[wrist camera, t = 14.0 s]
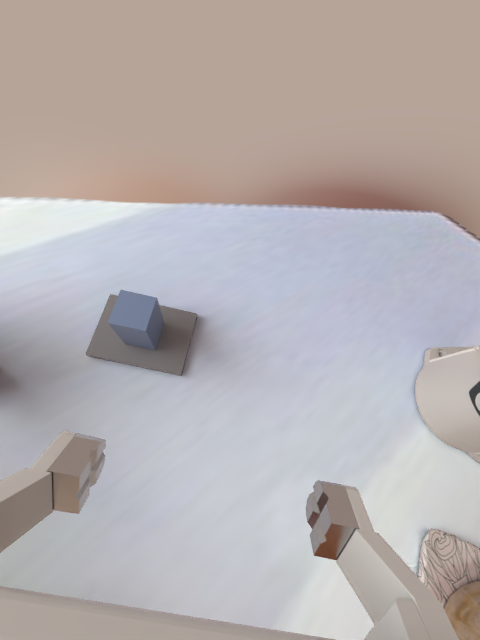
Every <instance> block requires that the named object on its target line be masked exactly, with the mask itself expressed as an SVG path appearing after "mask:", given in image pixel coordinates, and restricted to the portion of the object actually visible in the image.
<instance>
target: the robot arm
mask: <svg viewBox="0 0 480 640" xmlns="http://www.w3.org/2000/svg"><path fill="white" fill-rule="evenodd" d="M439 355H440V356H439ZM415 397H416V402H417V406H418V409H419V412H420V414H421V416H422V418H423V420H424V421H425V423H426V424H427V426H428V427H429V429H430V430H431V431H432V432H433V433H434V434H435V435H436V436H437V437H438V438H439V439H441V440H442V441H443V442H445V443H446V444H448V445H450V446H452V447H454V448H457V449H460V450H462V451H464V452H466V453H467V454H468V455H470V456H471V457H472V458H473V459H474V460H476V461H477V462H478V463H480V345H477V346H473V347H450V348H430V349H427V350H426V351H425V356H424V365H423V368H422V369H421V371H420V373H419V375H418V377H417V380H416V385H415ZM105 447H106V440H105V439H101V438H96V437H92V436H87V435H83V434H78V433H73V432H68V431H63V432H61V433H60V434H59V435H58V436H57V437H56V438H55V440H54V441H53V442H52V443H51V444H50V446H49V447H48V448H47V449H46V450H45V452H44V453H43V454H42V455H41V456H40V458H39V459H38V460H37V461H36V462H35V464H34V465H33V466H32V467H31V468H25V469H23V470H21V471H19V472H17V473H15V474H13V475H11V476H9V477H8V478H6V479H4V480H2V481H0V553H1V552H2V551H3V550H4V549H6V548H7V547H8V546H9V545H11V544H12V543H13V542H15V541H16V540H17V539H18V538H20V537H21V536H22V535H24V534H25V533H26V532H27V531H29V530H30V529H31V528H33V527H34V526H35V525H36V524H38V523H39V522H40V521H42V520H43V519H44V518H45V517H47V516H48V515H49V514H51V513H52V512H53V510H56V511H63V512H70V513H77V514H79V513H80V511H81V509H82V507H83V505H84V504H85V502H86V500H87V498H88V496H89V491H90V487H91V486H92V485H94V484H95V483H96V482H97V480H98V478H99V476H100V474H101V471H102V469H103V465H104V461H105V455H104V453H103V450H104V449H105ZM313 488H314V492H313V493H311V494H309V497H308V499H307V504H306V516H307V522H308V523H309V525H310V526H311V528H312V529H313V530H312V532H311V534H310V538H311V544H312V549H313V554H314V556H319V557H323V558H328V559H333V560H337V561H336V562H337V564H338V565H339V567H340V569H341V570H342V572H343V573H344V575H345V577H346V578H347V580H348V582H349V583H350V585H351V586H352V588H353V590H354V591H355V593H356V595H357V596H358V598H359V600H360V601H361V603H362V604H363V606H364V608H365V609H366V611H367V613H368V614H369V616H370V617H371V619H372V621H373V622H374V624H375V625H374V627H373V628H372V629H371V630H370V631H369V633H368V634H367V635H366V637H365V639H364V640H459V639H458V637H457V635H456V633H455V631H454V629H453V627H452V625H451V623H450V621H449V618H448V616H447V614H446V612H445V610H444V608H443V606H442V604H441V603H440V602H439V600H438V599H437V598H436V597H435V596H434V595H433V594H432V593H431V592H430V590H429V589H428V588H427V587H426V586H425V585H424V584H423V583H422V581H421V580H420V579H419V578H418V577H417V576H416V575H415V574H414V572H413V571H412V570H411V569H410V568H409V567H408V566H407V565H406V564H405V562H404V561H403V560H402V559H401V558H400V557H399V556H398V555H397V553H396V552H395V551H394V550H393V549H392V548H391V547H390V546H389V545H388V543H387V542H386V541H385V540H384V539H383V538H382V537H381V536H380V534H379V533H376V532H374V530H373V527H372V525H371V522H370V520H369V517H368V515H367V512H366V509H365V507H364V504H363V502H362V499H361V497H360V494H359V492H358V490H357V489H356V487H350V486H345V485H341V484H336V483H330V482H324V481H319V480H318V481H316V482H315V484H314V486H313ZM0 640H334V639H328V638H322V637H316V636H309V635H303V634H297V633H291V632H284V631H278V630H272V629H266V628H259V627H253V626H247V625H241V624H235V623H228V622H222V621H216V620H210V619H203V618H197V617H191V616H184V615H178V614H172V613H166V612H159V611H153V610H147V609H141V608H134V607H128V606H122V605H116V604H109V603H103V602H97V601H90V600H84V599H78V598H72V597H65V596H59V595H53V594H46V593H40V592H34V591H28V590H21V589H15V588H9V587H2V586H0Z"/></svg>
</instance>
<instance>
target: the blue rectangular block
mask: <svg viewBox="0 0 480 640" xmlns="http://www.w3.org/2000/svg"><path fill="white" fill-rule="evenodd" d="M108 324H109V325H110V326H111V327H112V329H113V330H114V331H115V332H116V334H117V335H118V336H119V337H120V338H121V340H122V341H123V342H124V343H125V344H127V345H132V346H136V347H141V348H146V349H150V350H155V351H156V348H157V345H158V341H159V338H160V335H161V332H162V329H163V325H164V320H163V317H162V314H161V310H160V307H159V304H158V300H157V298H155V297H150V296H146V295H142V294H137V293H133V292H128V291H124V290H121V291H120V293H119V296H118V298H117V301H116V303H115V306H114V308H113V311H112V313H111V316H110V318H109V321H108Z"/></svg>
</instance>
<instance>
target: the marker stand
mask: <svg viewBox="0 0 480 640" xmlns="http://www.w3.org/2000/svg"><path fill="white" fill-rule="evenodd" d="M117 298H118V296H116V295H111V294H110V296H109V299H108V301H107V304H106V306H105V308H104V311H103V313H102V316H101V318H100V321H99V323H98V325H97V328H96V330H95V333H94V335H93V337H92V340H91V342H90V345H89V347H88V350H87V352H86V355H87V356H91V357H95V358H100V359H105V360H110V361H114V362H119V363H124V364H128V365H133V366H138V367H143V368H147V369H152V370H157V371H162V372H166V373H171V374H176V375H182V371H183V367H184V364H185V360H186V356H187V352H188V349H189V345H190V341H191V337H192V334H193V330H194V326H195V322H196V319H197V314H196V313H191V312H187V311H183V310H178V309H174V308H169V307H165V306H160V305H159V307H160V310H161V314H162V317H163V320H164V325H163V329H162V332H161V335H160V338H159V341H158V345H157V348H156V351H155V350H150V349H146V348H141V347H136V346H132V345H127V344H125V343H124V342H123V341H122V340H121V338H120V337H119V336H118V335H117V334H116V332H115V331H114V330H113V329H112V327H111V326H110V325H109V324H108V321H109V318H110V316H111V313H112V311H113V308H114V306H115V303H116V301H117Z"/></svg>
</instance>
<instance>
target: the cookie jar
mask: <svg viewBox="0 0 480 640" xmlns="http://www.w3.org/2000/svg"><path fill="white" fill-rule="evenodd" d="M428 530H429V532H428V534H427V535H426V537H425V538H424V540H423V543H422V547H421V552H420V558H419V575H418V578H419V579H420V580H421V581H422V583H423V584H424V585H425V586H426V587H427V588H428V589H429V590H430V592H431V593H432V594H433V595H434V596H435V597H436V598H437V599H438V600H439V602H440V603H441V604H442V606H443V608H444V610H445V612H446V614H447V616H448V618H449V621H450V623H451V625H452V627H453V629H454V631H455V633H456V635H457V637H458V639H459V640H480V548H478V547H476V546H474V545H472V544H470V543H469V542H466V541H461V540H459V539H458V538H457V537H456V536H455V535H452V534H447V533H445V532H442V531H440V530H437V529H432V528H431V529H428Z"/></svg>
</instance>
